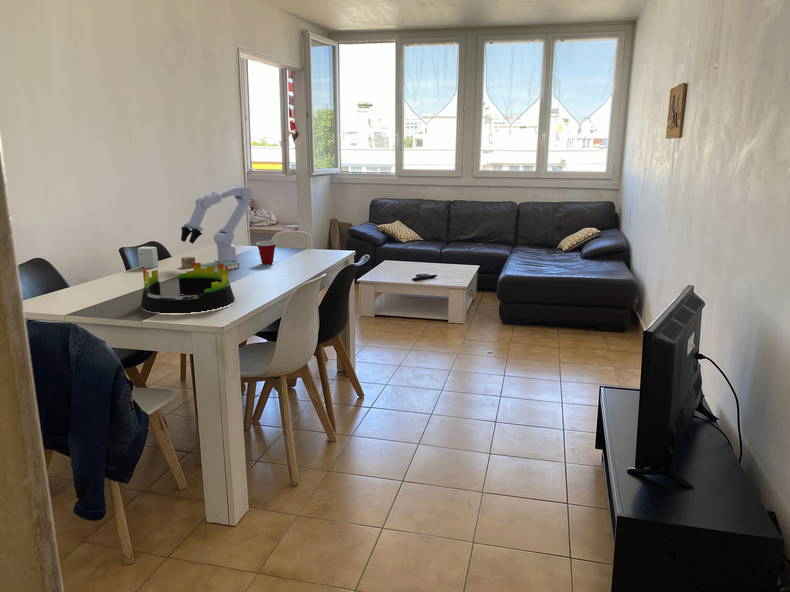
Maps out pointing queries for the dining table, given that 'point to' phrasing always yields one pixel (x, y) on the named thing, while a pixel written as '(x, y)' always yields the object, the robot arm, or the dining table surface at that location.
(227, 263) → the book
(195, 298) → the decorative container
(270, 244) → the plastic cup
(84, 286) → the dining table surface
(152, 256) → the small box
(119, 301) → the dining table surface
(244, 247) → the dining table surface
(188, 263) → the walnut block
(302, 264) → the dining table surface
